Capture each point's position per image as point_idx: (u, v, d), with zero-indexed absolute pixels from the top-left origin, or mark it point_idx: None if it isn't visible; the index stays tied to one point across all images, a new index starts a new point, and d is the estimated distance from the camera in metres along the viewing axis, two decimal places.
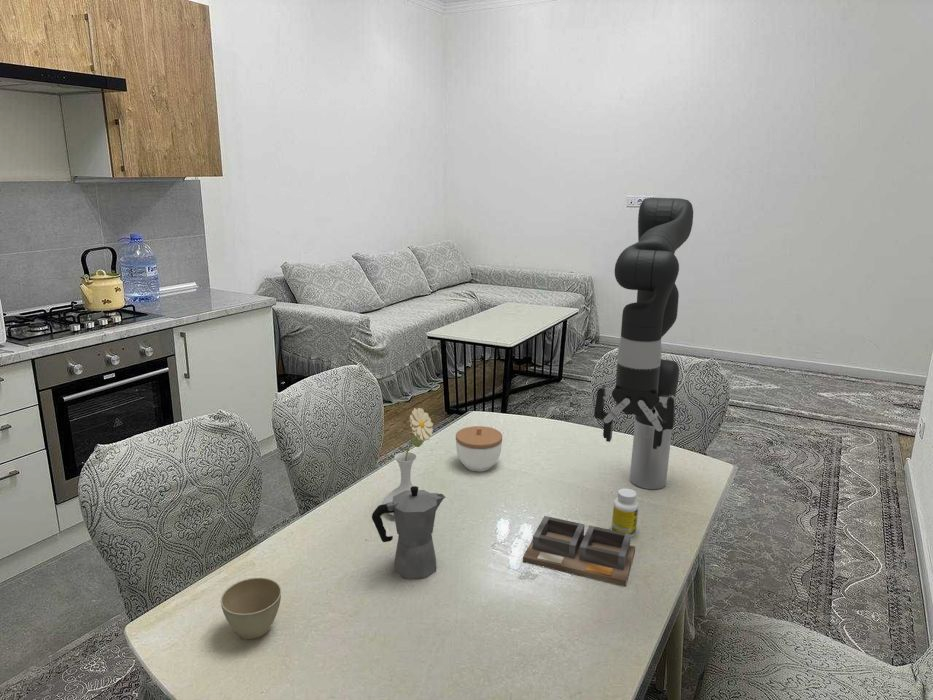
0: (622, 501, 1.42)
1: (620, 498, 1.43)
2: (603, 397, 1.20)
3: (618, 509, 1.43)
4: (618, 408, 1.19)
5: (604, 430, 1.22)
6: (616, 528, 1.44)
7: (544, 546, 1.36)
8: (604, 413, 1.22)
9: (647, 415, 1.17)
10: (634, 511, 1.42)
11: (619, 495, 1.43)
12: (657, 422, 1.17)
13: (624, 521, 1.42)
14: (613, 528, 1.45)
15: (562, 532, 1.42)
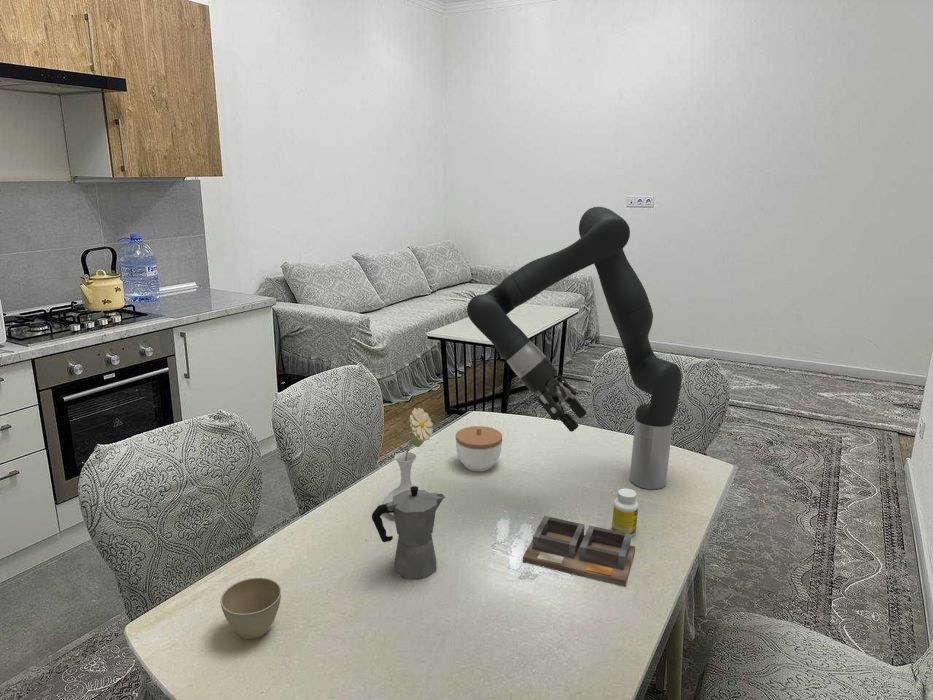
0: (622, 501, 1.42)
1: (620, 498, 1.43)
2: None
3: (617, 509, 1.43)
4: None
5: None
6: (616, 528, 1.44)
7: (544, 546, 1.36)
8: (569, 396, 1.48)
9: None
10: (634, 511, 1.42)
11: (619, 495, 1.43)
12: (554, 413, 1.40)
13: (624, 521, 1.42)
14: (613, 528, 1.45)
15: (562, 532, 1.42)
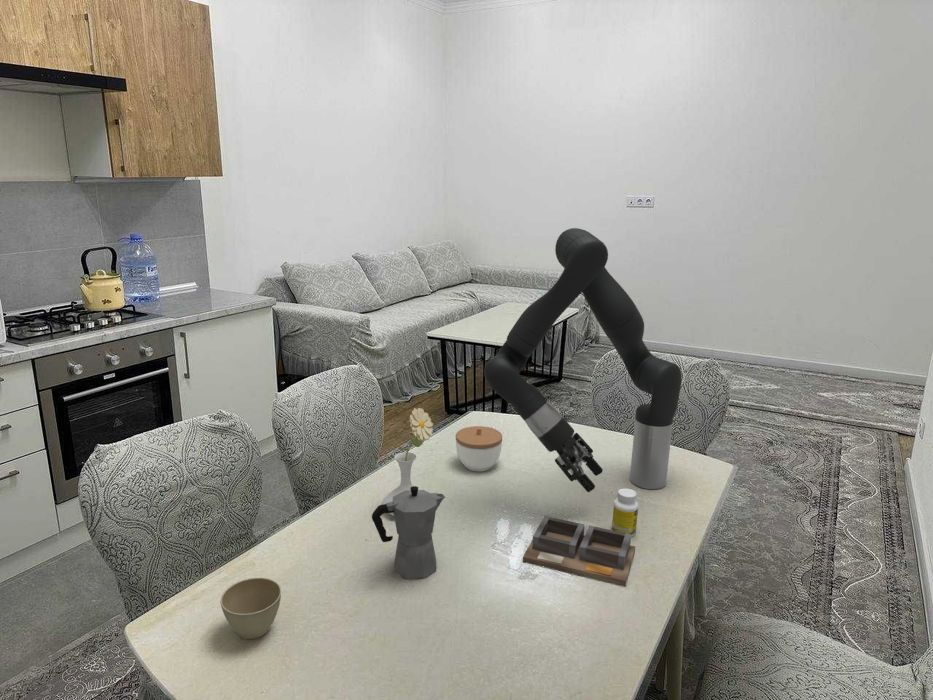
0: (622, 501, 1.42)
1: (620, 498, 1.43)
2: None
3: (618, 509, 1.43)
4: None
5: None
6: (616, 528, 1.44)
7: (544, 546, 1.36)
8: None
9: None
10: (634, 511, 1.42)
11: (619, 495, 1.43)
12: None
13: (624, 521, 1.42)
14: (613, 528, 1.45)
15: (562, 532, 1.42)
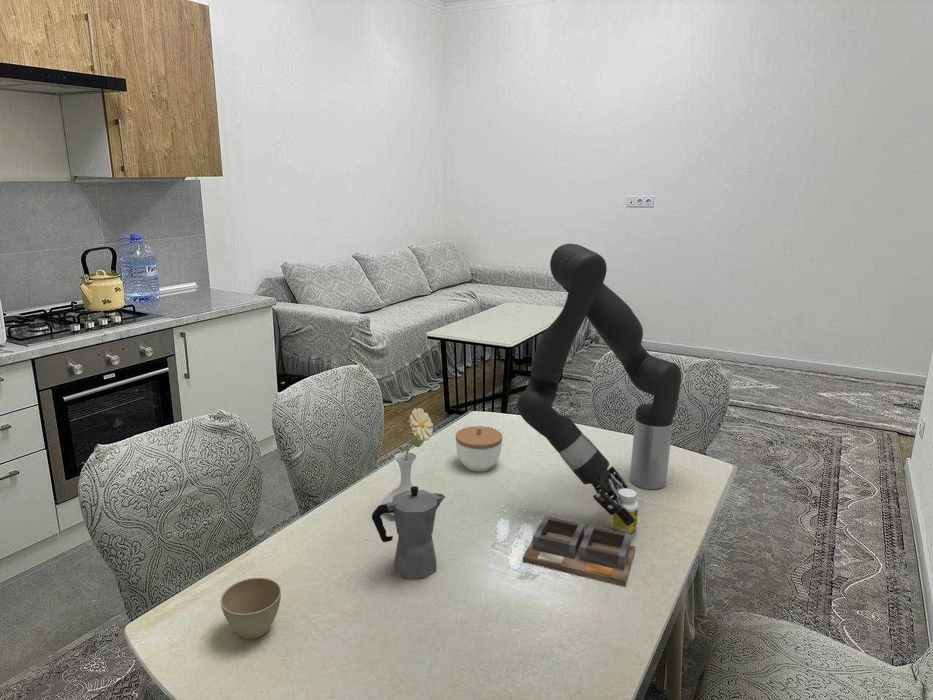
0: (622, 501, 1.42)
1: (620, 498, 1.43)
2: None
3: None
4: None
5: None
6: (616, 528, 1.44)
7: (544, 546, 1.36)
8: None
9: None
10: (634, 511, 1.42)
11: (619, 495, 1.43)
12: (610, 507, 1.42)
13: None
14: (613, 528, 1.45)
15: (562, 532, 1.42)
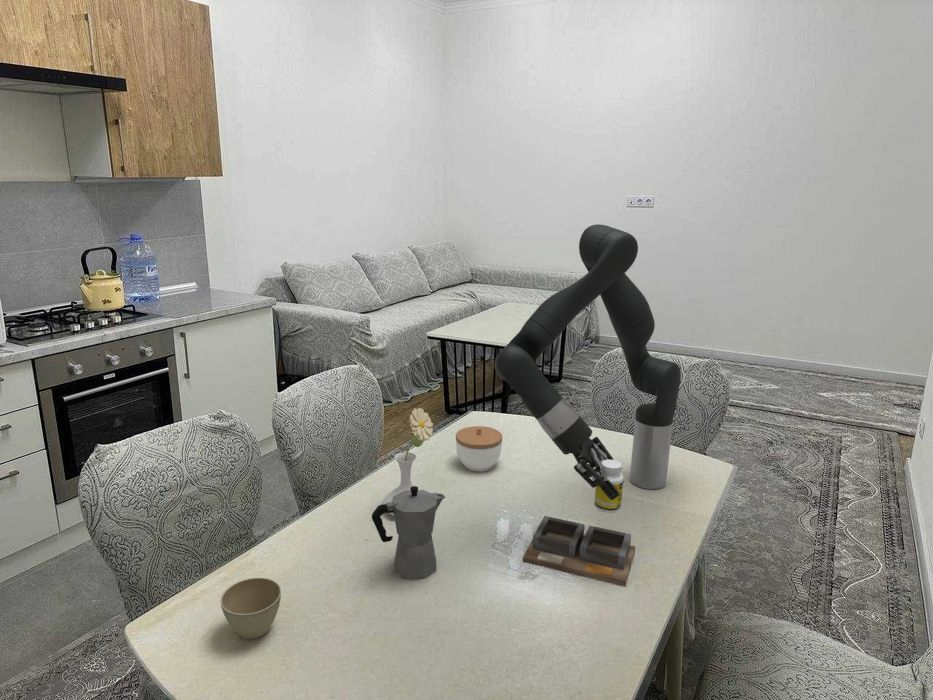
0: (606, 473, 1.29)
1: (603, 469, 1.29)
2: None
3: None
4: None
5: None
6: (599, 503, 1.31)
7: (544, 546, 1.36)
8: None
9: None
10: (619, 484, 1.29)
11: None
12: None
13: None
14: (596, 503, 1.32)
15: (562, 532, 1.42)
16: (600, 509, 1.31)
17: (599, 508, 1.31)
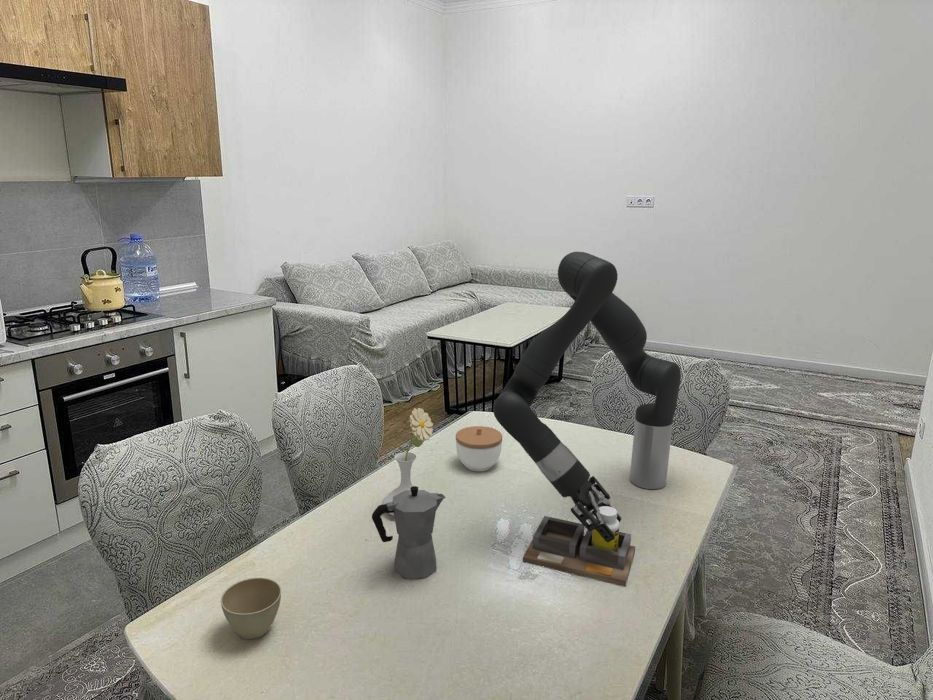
0: None
1: None
2: None
3: None
4: None
5: None
6: None
7: (544, 546, 1.36)
8: None
9: None
10: (615, 531, 1.32)
11: None
12: (589, 522, 1.31)
13: (604, 541, 1.32)
14: None
15: (562, 532, 1.42)
16: None
17: None
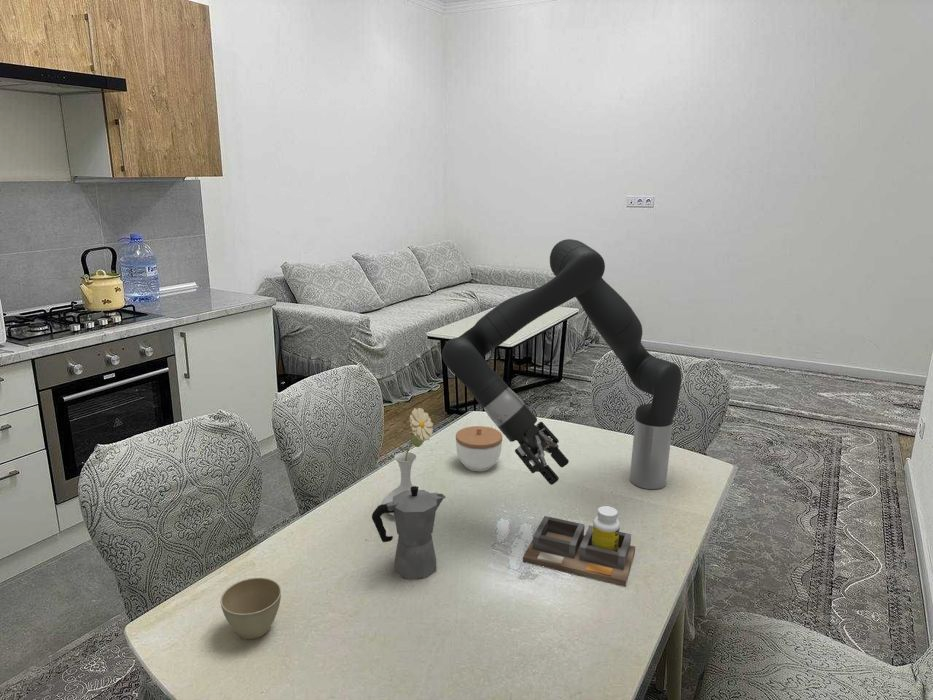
0: (602, 520, 1.32)
1: (600, 517, 1.32)
2: None
3: (597, 529, 1.33)
4: None
5: None
6: None
7: (544, 546, 1.36)
8: None
9: None
10: (615, 531, 1.32)
11: (599, 514, 1.33)
12: (533, 464, 1.32)
13: (604, 541, 1.32)
14: None
15: (562, 532, 1.42)
16: None
17: None
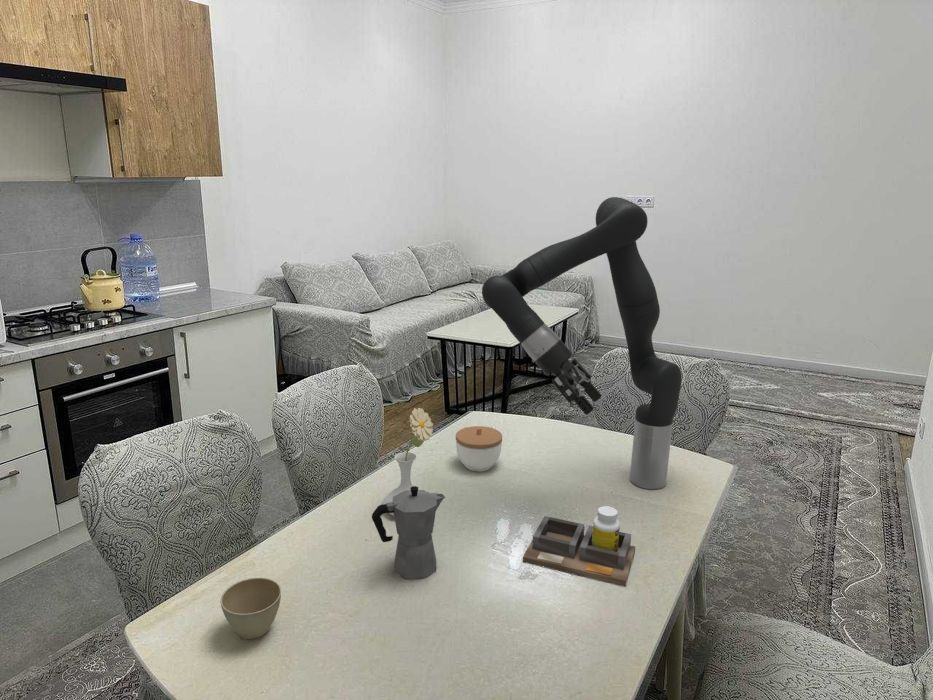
0: (602, 520, 1.32)
1: (600, 517, 1.32)
2: None
3: (597, 529, 1.33)
4: None
5: None
6: None
7: (544, 546, 1.36)
8: None
9: None
10: (615, 531, 1.32)
11: (599, 514, 1.33)
12: (569, 395, 1.39)
13: (604, 541, 1.32)
14: None
15: (562, 532, 1.42)
16: None
17: None
